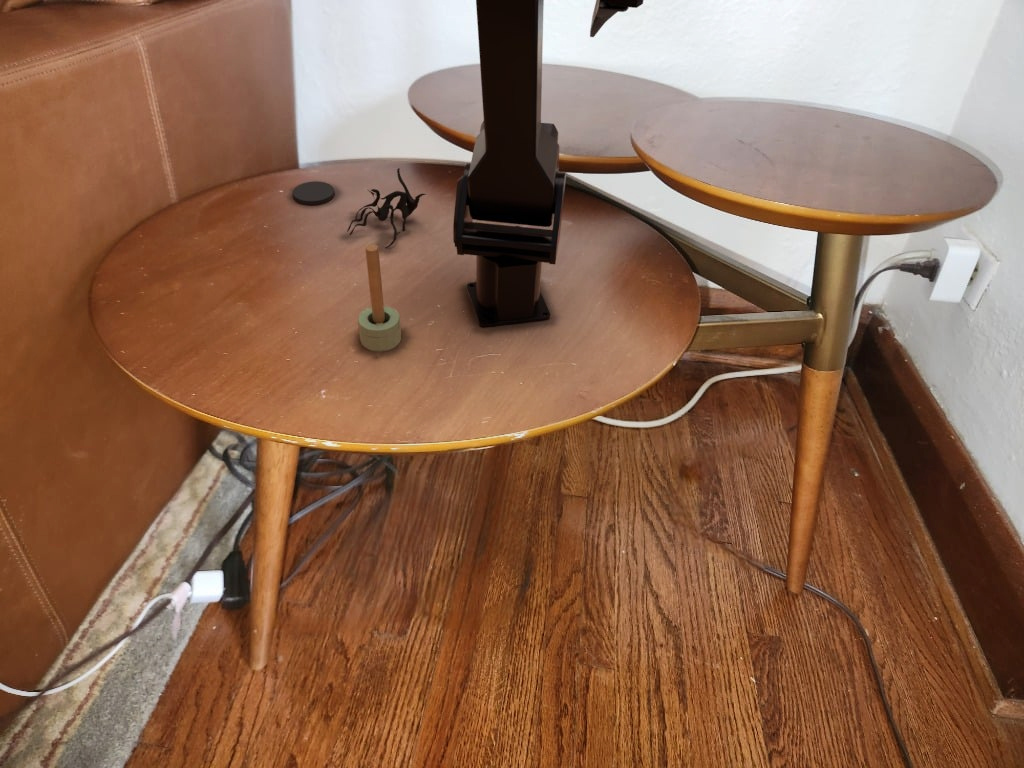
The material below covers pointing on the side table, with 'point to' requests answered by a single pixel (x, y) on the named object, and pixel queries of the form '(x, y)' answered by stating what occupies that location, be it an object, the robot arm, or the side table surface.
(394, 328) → the pale green thick ring
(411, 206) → the creature
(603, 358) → the side table surface
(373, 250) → the wooden stick
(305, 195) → the coaster
